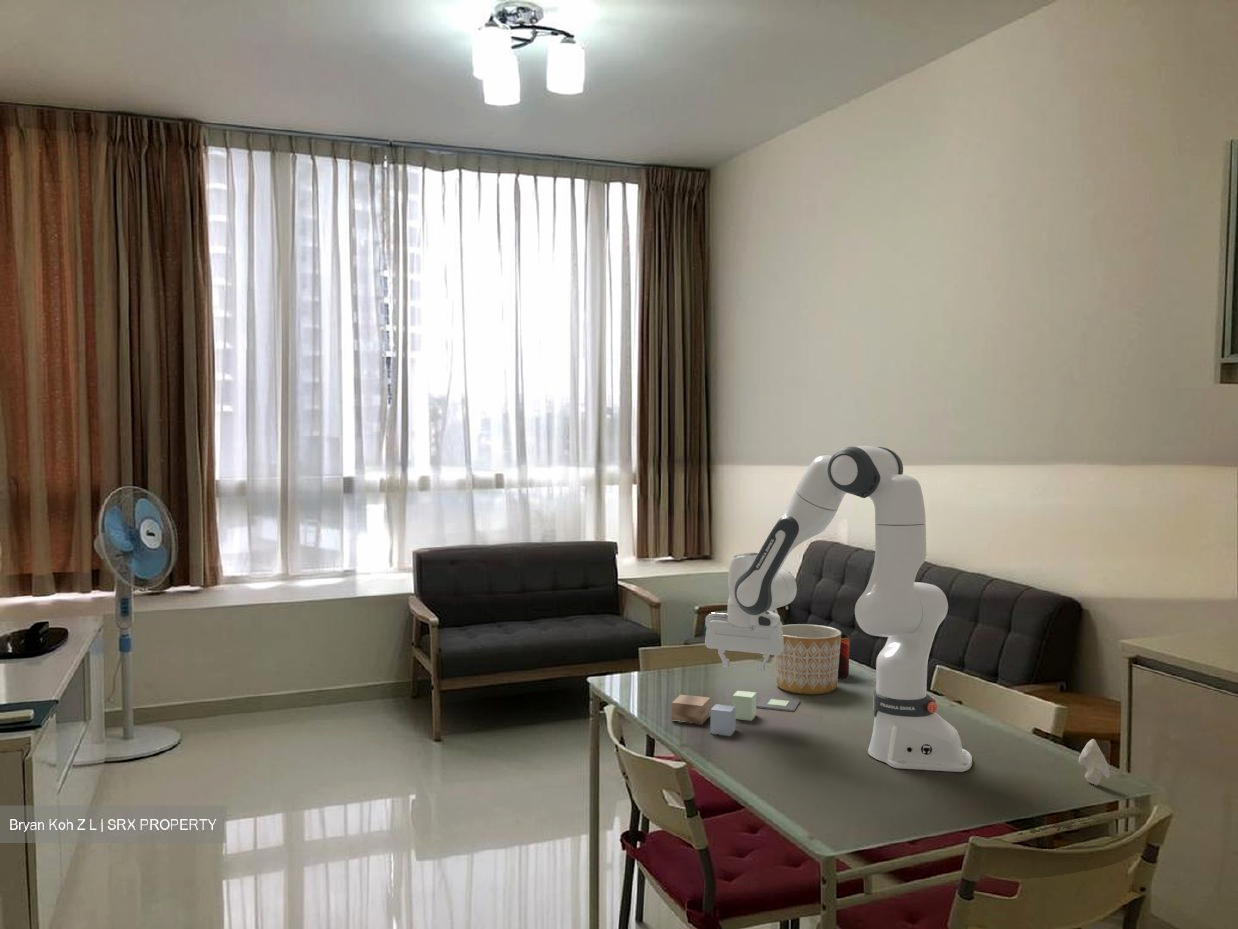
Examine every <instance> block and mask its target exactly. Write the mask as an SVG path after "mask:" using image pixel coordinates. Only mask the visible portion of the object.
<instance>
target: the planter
mask: <svg viewBox="0 0 1238 929" xmlns="http://www.w3.org/2000/svg"><path fill="white" fill-rule="evenodd" d="M780 626H781V628H782V631H783V638H784V650H783V652H782V653H781V654H780V655H773V656H774V670H775V671H774V672H775V682H776V685H777V686H778V687H779V688H780V689H781V690H783V691H785V692H788V693H792V694H797V695H810V696H812V695H813V696H815V695H824V694H829V693H832V692H833V691H834V690H835V689H836V688H837V686H838V680H839V679H838V667H839V655H840V644H841V634H842V631H841V630H839V629H838V628H836V627H832V626H827V625H820V624H819V625H818V624H810V623H809V624H808V623H807V624H806V623H803V624H802V623H801V624H800V623H797V624H784V625H783V624H782V625H780Z"/></svg>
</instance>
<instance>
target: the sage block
mask: <svg viewBox="0 0 1238 929" xmlns="http://www.w3.org/2000/svg"><path fill="white" fill-rule="evenodd" d="M756 705H757V692H755V691H744V690H736V691H735V692H734V694H732V706H736V720H743V721H750V722H751V721H753V720H754V719H755V717H757V708H756Z"/></svg>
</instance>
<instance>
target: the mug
mask: <svg viewBox="0 0 1238 929" xmlns="http://www.w3.org/2000/svg"><path fill="white" fill-rule="evenodd" d="M848 676H849V677H850V636H849V635H848V634H845V633H841V644H840V655H839V667H838V679H837V680H844V678H845V679H848V678H849V677H848ZM847 677H848V678H847Z"/></svg>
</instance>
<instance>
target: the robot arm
mask: <svg viewBox="0 0 1238 929" xmlns="http://www.w3.org/2000/svg"><path fill="white" fill-rule="evenodd" d="M799 480H800V481H799V482H798V484H797V486H796V488H795V490H794V492H793V494H792V496H791V498H790V500H789V502H788V504H787V506H786V508H785V510H784V511H783V513H782V514H781V516H780V518H778V520H777V522H776V523H775V525H774V526H773V528H772V529H771V531H770V532H769V534H768V536H767V538H766V539H765V541H764V543H763V545H762V546H761V548H760V550H759V551H758V552H747V553H740V554H736V555H734V556H732V558H731V560H730V562H729V568H728V578H727V581H728V582H727V588H728V592H729V596H728V599H727V613H725V612H724V613H723V612H721V613H719V612H711V613H709V614H707V615H706V616H705V619H704V620H705V622H704V623H705V624H704V625H705V628H706V631H705V638H704V645H705V646H706V648H707V649H712V650H713V649H715V650H717V653H718V656H719V657H720V660H721V666H722V667H725V668H728V667H729V666H730V658H727V657H726V655H725V653H726V651H732V652H743V653H752V654H762V658H763V661H759V662H758V664H757V667H758V668H757V670H758V671H761V672H764V671H765V670H766V663H767V662H768V660H769V659H770V655H771V656H774V655H780V654H781V653H782V652H783V650H784V638H783V631H782V628H781V626H782V625H780V624H779V623H780V620H781V616H780V615H779V614H778V613H776V612H773V611H772V610H776V609H778V608H781V607H785V606H787V605H790V604H791V603H793V602H794V600H795V599H796V597H797V594H798V584H797V583H798V582H797V581H796V578H795V577H794V575H793V574H792V573H791V572H790V571H788V570H786V569H783V568H782V567H783V564H784V563H785V561H786V559H787V558H788V556H789V555H790V553H791V552H792V551H793V550H794V549H795V548H797V547H798V546H799V545H801V544H802V543H804V542H806V541H807V540H809V539H812V538H813V537H816V536H817V535H820V534H821V533H823V532H824V531H825V530H826V529H827V528H828V526H829V525H830V524H831V522H832V521H833V519H834V518H835V516H836V513H837V511H838V510H839V507H840V506H841V503H842V501H843V499H844V497H845V495H846V494H850V495H853V496H857V497H859V498H861V499H866V498H870V499H871V502H872V503H873V505H874V532H875V535H874V537H875V539H874V543H875V544H874V546H875V548H874V549H875V550H874V551H875V552H874V562H873V565H872V571H871V574H870V577H869V580H868V584H867V586H866V587H865V590H864V591H863V593H862V594H861V595H860V596H859V598H858V599H857V601H856V603H855V607H854V615H855V616H854V617H855V621H856V623H857V624H858V627H859V628H860V629H861V630H862V631H863V632H864V633H866V634H868V635H870V636H874V637H885V638H887V640H886V642H885V645H884V646H883V648H882V649H881V650H880V651H879V654H877V657H876V659H875V660H876V662H875V668H876V669H875V690H874V693H873V696H872V702H873V704H872V709H873V710H872V713H873V717H874V721H873V728H872V735H871V738H870V742H869V746H868V749H867V753H868V755H869V756H870V757H871V758H874V759H875V760H878V761H880V762H883V763H886V764H887V765H888V766H890V767H891V768H895V769H907V770H921V771H922V770H923V771H936V772H937V771H941V772H956V773H964V772H966V771H969V770H970V769H971V767H972V766H973V757H972V755H971V753H970V752H969V751H968V750H966V749H964V748H963V747H962V741H961V740H962V739H961V737H960V735H959V732H958V730H957V729H956V728H955V727H954V726H953V725H951V723H949V722H948V721H946V720H945V719H944V718H942V717H941V716H940V715H939V714H938V713H936V712H937V710H938V705H937V702H936V700H935V698H936V697H935V696H930V694H927V680H928V663H929V661H928V660H929V658H930V657H929V655H930V652H931V648H932V646H933V642H934V639H935V635H936V633H937V631H938V628H939V626H940V625H941V624H942V622H943V621H944V620H945V618H946V617H947V615H948V610H949V602H948V599H947V596H946V594H945V592H944V591H943V590H942V589H941V588H940V587H938V586H936V585H935V584H930V583H927V582H920V581H919V582H918V581H917V582H916V581H915V580H916V578H917V573H918V571H919V570H920V568H921V566H922V565H923V564H924V562H925V561H926V559H927V530H926V529H927V528H926V527H927V524H926V522H927V521H926V519H927V518H926V508H925V501H924V495H923V491H922V487H921V483H920V482H919V481H918V480H917V479H916V478H914V477H912V476H910V475H907V474H904V464H903V461H902V459H901V458H900V456H899V455H898V454H897V453H896V452H894V451H893V450H892V449H889V448H887V447H882V446H877V447H875V446H872V445H857V446H847V447H844V448H841V449H840V450H838V451H837V452H835V453H834V454H833V455H827V454H826V455H825V454H824V455H818V456H817V457H815V458H814V459H813V460H812V461H811V463H810V465H809V466H808V467H807V469H806V470H805V471H804V474H803V475H802V477H801V478H800V479H799Z"/></svg>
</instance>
